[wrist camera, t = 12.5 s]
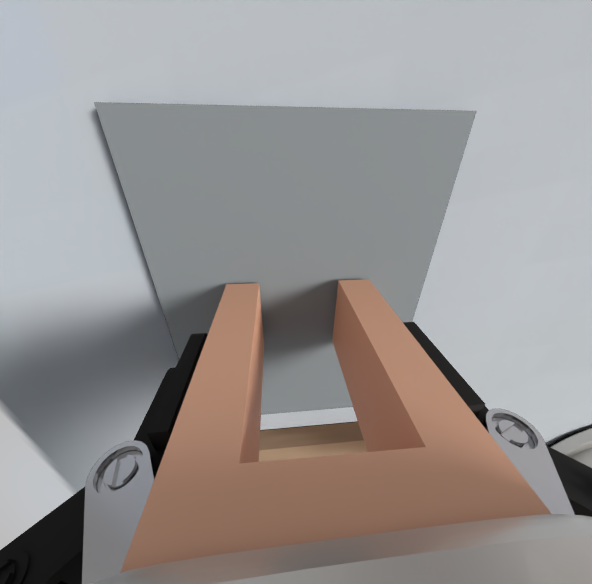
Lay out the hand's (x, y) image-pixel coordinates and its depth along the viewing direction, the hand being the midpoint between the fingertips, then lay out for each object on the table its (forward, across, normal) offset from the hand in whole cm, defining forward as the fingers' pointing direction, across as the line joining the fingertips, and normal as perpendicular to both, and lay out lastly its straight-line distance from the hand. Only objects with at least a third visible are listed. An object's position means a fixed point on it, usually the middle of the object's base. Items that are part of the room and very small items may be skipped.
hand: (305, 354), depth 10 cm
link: (+3, 0, 0) cm, 3 cm away
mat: (+4, 0, 0) cm, 4 cm away
